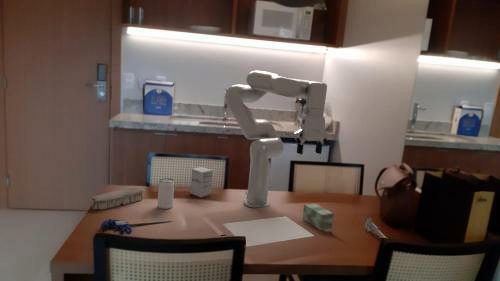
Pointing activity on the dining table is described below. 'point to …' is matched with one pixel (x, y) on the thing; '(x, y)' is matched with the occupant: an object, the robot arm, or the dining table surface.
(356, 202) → the dining table surface
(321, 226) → the block
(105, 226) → the bar clamp
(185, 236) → the dining table surface
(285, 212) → the dining table surface
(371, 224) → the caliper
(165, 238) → the dining table surface
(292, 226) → the board
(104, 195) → the shoe brush
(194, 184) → the supplement box
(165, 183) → the can
